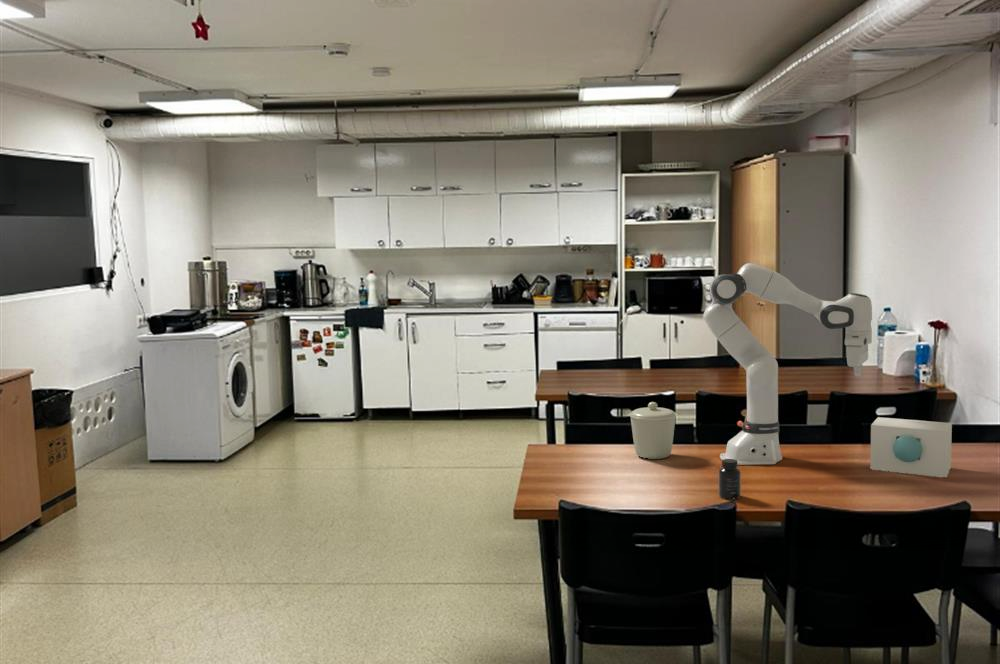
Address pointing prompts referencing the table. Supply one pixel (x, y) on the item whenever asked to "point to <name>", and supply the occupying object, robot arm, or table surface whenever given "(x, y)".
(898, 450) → the knob
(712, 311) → the robot arm
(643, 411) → the canister
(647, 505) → the table surface
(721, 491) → the supplement bottle
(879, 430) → the knob mount
